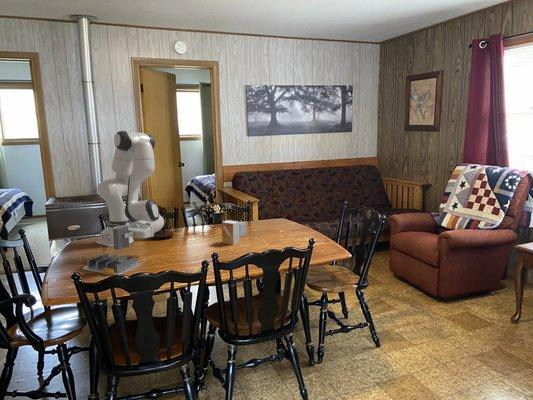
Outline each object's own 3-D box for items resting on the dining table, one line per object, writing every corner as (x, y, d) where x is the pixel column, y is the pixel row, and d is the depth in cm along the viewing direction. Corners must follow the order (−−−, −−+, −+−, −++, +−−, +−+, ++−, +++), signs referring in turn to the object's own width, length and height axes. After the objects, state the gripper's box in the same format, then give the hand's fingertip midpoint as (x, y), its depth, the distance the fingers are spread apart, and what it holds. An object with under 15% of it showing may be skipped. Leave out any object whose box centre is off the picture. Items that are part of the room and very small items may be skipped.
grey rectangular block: (114, 249, 190) (112, 228, 188) (124, 245, 196) (123, 225, 194) (119, 249, 189) (117, 229, 187) (129, 245, 195) (127, 226, 193)
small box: (222, 243, 237) (221, 222, 234) (228, 240, 242) (227, 219, 240) (233, 245, 233) (232, 223, 230) (239, 242, 238) (239, 221, 236)
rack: (81, 270, 193) (81, 261, 192) (107, 259, 208) (107, 251, 207) (116, 276, 184) (116, 267, 184) (141, 265, 199) (140, 256, 199)
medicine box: (241, 234, 257) (241, 221, 256) (246, 235, 254) (246, 222, 253) (233, 236, 251) (232, 223, 250) (238, 237, 248) (238, 224, 247)
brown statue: (145, 236, 253) (143, 206, 249) (167, 233, 261) (166, 203, 258) (154, 241, 241) (152, 209, 238) (177, 237, 250) (175, 206, 246)
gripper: (123, 221, 207) (103, 227, 195) (155, 224, 199) (136, 231, 187) (124, 233, 208) (104, 239, 196) (156, 236, 200) (137, 244, 188)
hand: (120, 235), depth 191 cm, fingers closed on grey rectangular block, 3 cm apart
